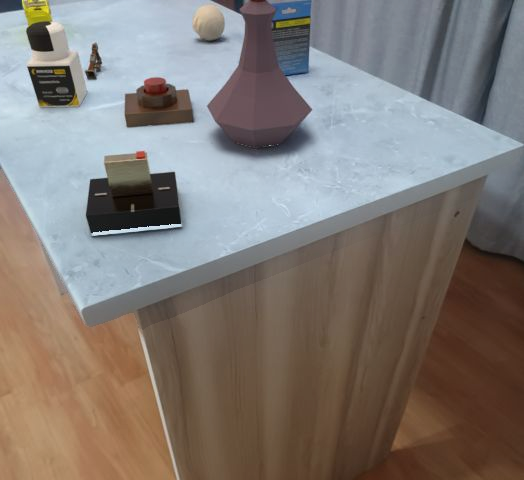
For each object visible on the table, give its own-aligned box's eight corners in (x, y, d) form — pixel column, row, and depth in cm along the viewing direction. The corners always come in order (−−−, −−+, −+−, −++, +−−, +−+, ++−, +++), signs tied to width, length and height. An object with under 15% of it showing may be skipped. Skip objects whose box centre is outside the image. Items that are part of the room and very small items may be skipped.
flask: (217, 113, 89) (207, -29, 74) (313, 116, 87) (322, -28, 73) (198, 156, 77) (183, -1, 63) (308, 161, 76) (317, 1, 62)
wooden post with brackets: (105, 59, 106) (98, 39, 101) (100, 89, 103) (93, 70, 99) (96, 59, 106) (89, 39, 102) (91, 89, 103) (84, 70, 99)
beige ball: (189, 37, 119) (186, 3, 114) (219, 33, 121) (217, 0, 116) (199, 46, 115) (195, 11, 110) (229, 41, 116) (228, 7, 112)
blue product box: (301, 66, 105) (304, -6, 96) (308, 73, 102) (312, -1, 93) (260, 72, 103) (259, -1, 94) (266, 78, 100) (266, 4, 91)
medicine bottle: (39, 108, 91) (15, 30, 82) (49, 93, 96) (27, 18, 87) (80, 107, 91) (60, 29, 82) (88, 92, 96) (70, 17, 87)
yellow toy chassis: (30, 25, 127) (18, -16, 121) (54, 23, 128) (43, -18, 122) (32, 44, 116) (19, 0, 110) (58, 41, 118) (46, -2, 112)
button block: (127, 127, 85) (122, 102, 82) (127, 106, 91) (122, 82, 88) (193, 122, 86) (191, 97, 83) (189, 102, 92) (187, 78, 89)
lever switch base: (91, 237, 63) (85, 215, 61) (95, 199, 69) (89, 177, 67) (182, 228, 64) (178, 205, 62) (177, 191, 70) (174, 169, 68)
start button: (145, 97, 85) (143, 85, 83) (145, 89, 87) (143, 78, 86) (167, 95, 85) (166, 84, 84) (166, 87, 87) (165, 76, 86)
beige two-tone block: (112, 197, 63) (103, 160, 60) (112, 190, 65) (103, 153, 61) (153, 193, 64) (146, 156, 61) (152, 186, 65) (146, 150, 62)
